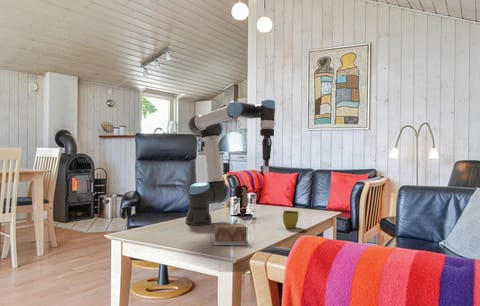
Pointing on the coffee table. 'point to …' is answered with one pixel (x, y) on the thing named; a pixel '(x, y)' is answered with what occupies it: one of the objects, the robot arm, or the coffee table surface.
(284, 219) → the flower pot
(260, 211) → the coffee table surface
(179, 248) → the coffee table surface
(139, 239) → the coffee table surface
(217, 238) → the walnut block
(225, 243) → the mat
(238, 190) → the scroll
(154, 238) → the coffee table surface
